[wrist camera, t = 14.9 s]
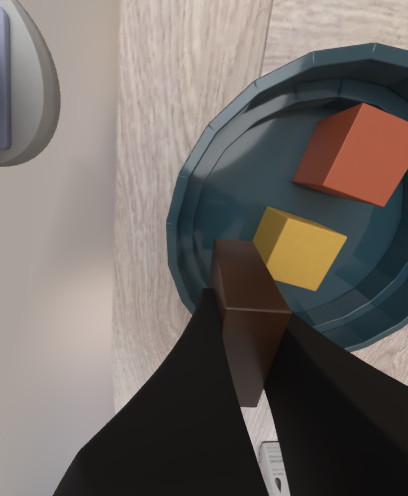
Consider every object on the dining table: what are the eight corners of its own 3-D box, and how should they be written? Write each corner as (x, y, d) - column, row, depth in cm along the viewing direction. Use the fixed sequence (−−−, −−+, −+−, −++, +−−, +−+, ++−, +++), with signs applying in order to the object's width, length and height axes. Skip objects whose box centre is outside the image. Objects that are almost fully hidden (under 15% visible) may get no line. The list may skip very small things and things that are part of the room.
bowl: (151, 295, 19) (138, 332, 15) (221, 31, 12) (232, -41, 8) (334, 340, 21) (367, 382, 17) (473, 140, 15) (582, 129, 11)
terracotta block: (291, 181, 15) (322, 185, 11) (318, 120, 14) (363, 102, 10) (339, 198, 15) (384, 207, 12) (369, 141, 14) (431, 130, 10)
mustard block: (246, 252, 17) (260, 276, 13) (266, 205, 15) (288, 217, 12) (290, 265, 17) (316, 291, 14) (313, 221, 16) (348, 237, 12)
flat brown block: (204, 313, 12) (206, 406, 8) (213, 237, 10) (224, 308, 6) (236, 315, 13) (257, 408, 8) (253, 241, 10) (293, 312, 6)
